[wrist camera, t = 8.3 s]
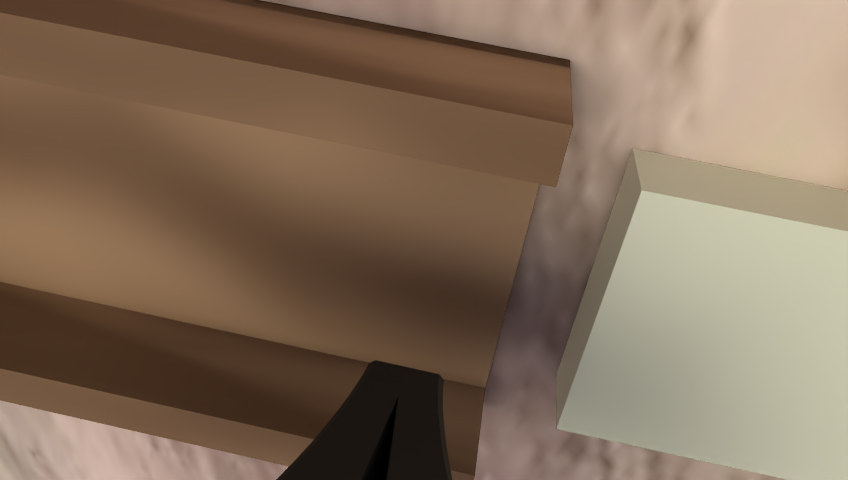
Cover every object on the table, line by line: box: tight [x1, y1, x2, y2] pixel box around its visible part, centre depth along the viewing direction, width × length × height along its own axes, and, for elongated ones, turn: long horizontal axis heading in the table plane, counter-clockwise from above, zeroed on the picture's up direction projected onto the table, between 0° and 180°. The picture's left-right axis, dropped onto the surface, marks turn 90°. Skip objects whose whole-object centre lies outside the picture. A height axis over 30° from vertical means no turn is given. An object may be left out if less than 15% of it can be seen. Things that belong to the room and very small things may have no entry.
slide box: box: [0, 0, 573, 480], centre depth 17 cm, size 10×18×4 cm, turn 82°
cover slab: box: [556, 148, 848, 480], centre depth 17 cm, size 7×8×2 cm
